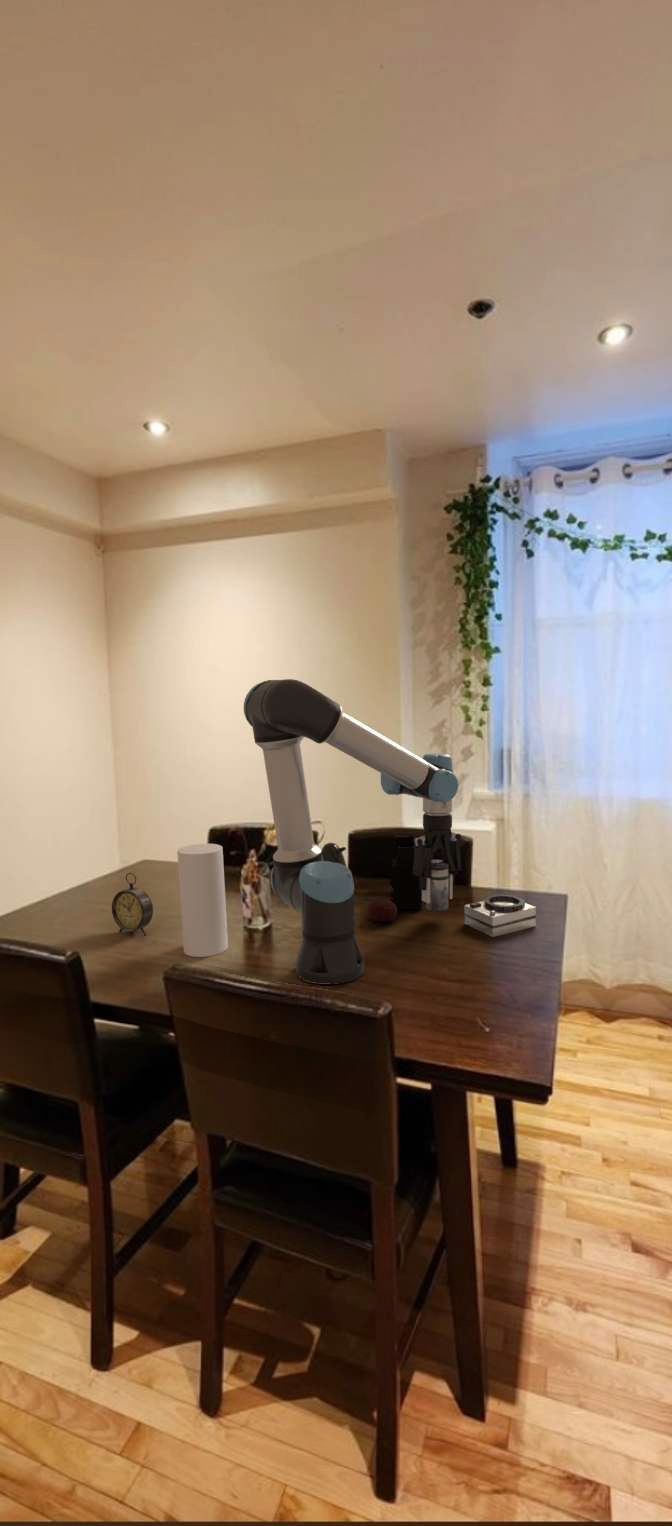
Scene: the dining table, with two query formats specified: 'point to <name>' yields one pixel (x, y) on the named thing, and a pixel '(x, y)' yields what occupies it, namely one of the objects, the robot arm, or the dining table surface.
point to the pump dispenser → (333, 853)
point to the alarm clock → (132, 908)
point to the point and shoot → (500, 915)
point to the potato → (382, 910)
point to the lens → (438, 885)
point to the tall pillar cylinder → (202, 899)
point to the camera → (405, 875)
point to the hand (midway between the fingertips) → (437, 899)
